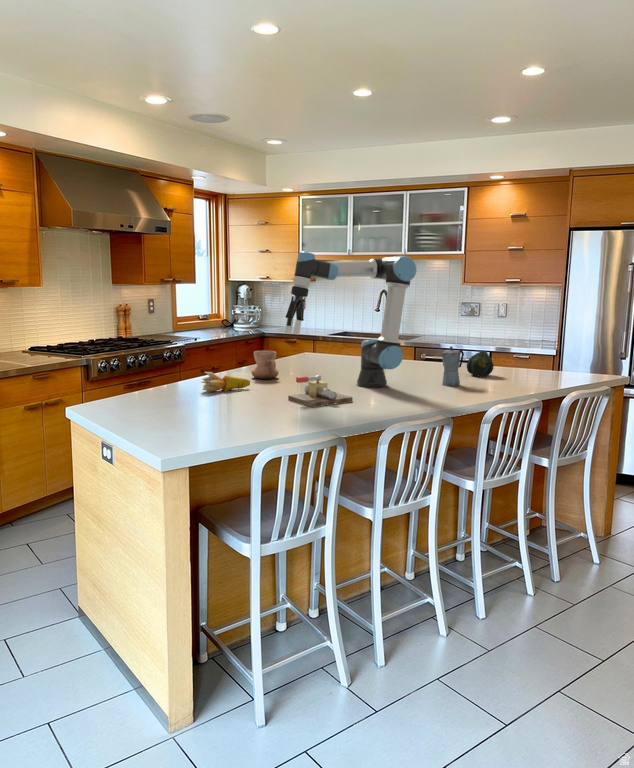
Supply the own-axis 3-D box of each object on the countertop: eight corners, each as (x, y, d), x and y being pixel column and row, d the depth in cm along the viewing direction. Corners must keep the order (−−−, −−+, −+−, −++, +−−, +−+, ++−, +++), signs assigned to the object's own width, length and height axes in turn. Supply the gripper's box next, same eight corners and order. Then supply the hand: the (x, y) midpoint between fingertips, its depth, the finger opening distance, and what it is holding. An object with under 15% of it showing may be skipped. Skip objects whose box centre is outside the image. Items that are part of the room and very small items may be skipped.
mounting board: (327, 394, 288) (327, 390, 287) (352, 401, 273) (352, 397, 273) (288, 399, 275) (288, 395, 274) (312, 407, 260) (312, 402, 260)
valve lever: (318, 379, 276) (318, 374, 275) (322, 380, 274) (322, 375, 273) (295, 382, 269) (295, 377, 268) (299, 383, 267) (299, 377, 266)
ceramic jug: (245, 376, 335) (245, 350, 332) (269, 374, 343) (269, 349, 340) (261, 382, 320) (261, 355, 317) (285, 380, 328) (285, 353, 325)
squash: (461, 367, 346) (480, 347, 341) (462, 364, 360) (481, 346, 355) (479, 385, 344) (499, 365, 339) (480, 381, 358) (499, 363, 354)
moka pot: (434, 384, 319) (435, 346, 315) (454, 382, 328) (456, 344, 324) (448, 387, 311) (450, 348, 308) (468, 384, 320) (470, 346, 317)
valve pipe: (313, 393, 283) (313, 377, 282) (338, 400, 268) (339, 384, 267) (302, 394, 280) (302, 378, 278) (327, 401, 264) (328, 385, 263)
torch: (249, 396, 300) (200, 394, 287) (243, 386, 306) (195, 384, 292) (254, 383, 296) (205, 380, 283) (248, 373, 302) (200, 370, 288)
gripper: (299, 288, 290) (291, 333, 292) (284, 282, 265) (275, 331, 267) (315, 291, 288) (306, 336, 290) (301, 285, 264) (292, 334, 266)
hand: (291, 333), depth 279 cm, fingers open, 13 cm apart
